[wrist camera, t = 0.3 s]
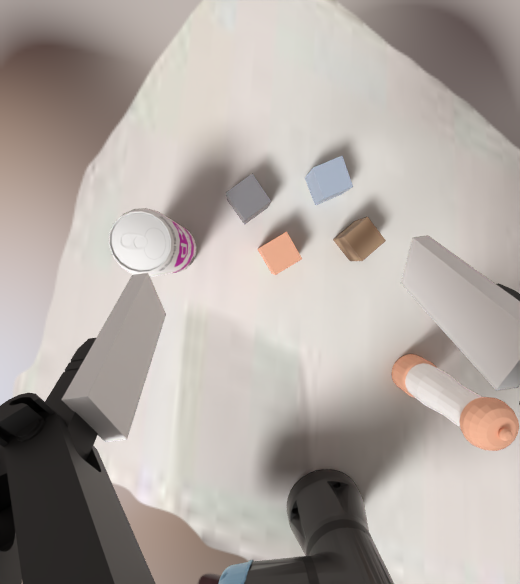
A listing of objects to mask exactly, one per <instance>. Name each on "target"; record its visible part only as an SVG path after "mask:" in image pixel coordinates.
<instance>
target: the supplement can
mask: <svg viewBox="0 0 520 584" xmlns="http://www.w3.org/2000/svg"><path fill="white" fill-rule="evenodd" d="M109 246H110V249H111V252H112V255H113V257H114V259H115V260H116V261H117V262H118V264H119V265H120V266H121V267H122V268H123V269H125V270H126V271H128V272H129V273H131V274H133V275H135V274H142V273H148V274H149V276H150V277H151V276H159V275H165V274H170V273H176V272H180V271H182V270H184V269H187V268H188V267H189V266H190V265H191V264H192V263H193V260H194V258H195V256H196V243H195V240H194V237H193V236H192V235H191V233H190V232H189V231H188V230H187V229H185V228H184V227H183V226H181V225H179V224H178V223H176V222H175V221H173V220H171V219H170V218H168V217H166V216H165V215H163V214H161V213H160V212H158V211H154V210H151V209H147V208H143V209H133V210H131V211H129V212H127V213H125V214H123V215H122V216H121V217H120V218H119V219H118V220H117V221H116V222H115V223H114V224H113V226H112V228H111V231H110V233H109Z"/></svg>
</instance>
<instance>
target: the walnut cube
mask: <svg viewBox="0 0 520 584" xmlns="http://www.w3.org/2000/svg"><path fill="white" fill-rule="evenodd" d="M333 240H334V241H335V243H336V244H337V245H338V246H339V248H340V249H341V250H342V252H343V253H344V254H345V255H346V257H347V258H348V259H349V260H350V261H363V260H364V259H365V258H366V257H368V256H369V255H370V254H371V253H372V252H373V251H374V250H376V249H377V248H378V247H379V246H380V245H381V244H383V243H384V242H385V241H386V240H385V239H384V238H383V236H382V235H381V234H380V232H379V231H378V230H377V228H376V227H375V226H374V224H373V223H372V222H371V220H370V219H369V218H368V217H365V218H362V219H360V220H357V221H354V222H353V223H352V224H351V225H350V226H348V227H347V228H346V229H345V230H344V231H343V232H341V233H340V234H339V235H338V236H337V237H336V238H335V239H333Z"/></svg>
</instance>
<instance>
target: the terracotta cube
mask: <svg viewBox="0 0 520 584" xmlns="http://www.w3.org/2000/svg"><path fill="white" fill-rule="evenodd" d="M258 251H259V253H260V254H261V256H262V258H263V259H264V261H265V263H266V265H267V266H268V268H269V270H270V271H271V273H272V274H274V275H276V274H278V273H280V272H281V271H283V270H285V269H286V268H288V267H290V266H291V265H293V264H295V263H296V262H298V261H300V260H301V259H302V258H301V256H300V254H299V252H298V251H297V249H296V247H295V245H294V244H293V242H292V240H291V238H290V236H289V235H288V233H287V232H285V233H283V234H282V235H280V236H278V237H277V238H275V239H273V240H272V241H270V242H268V243H267V244H265V245H263V246H262V247H260V248H259V249H258Z"/></svg>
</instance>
